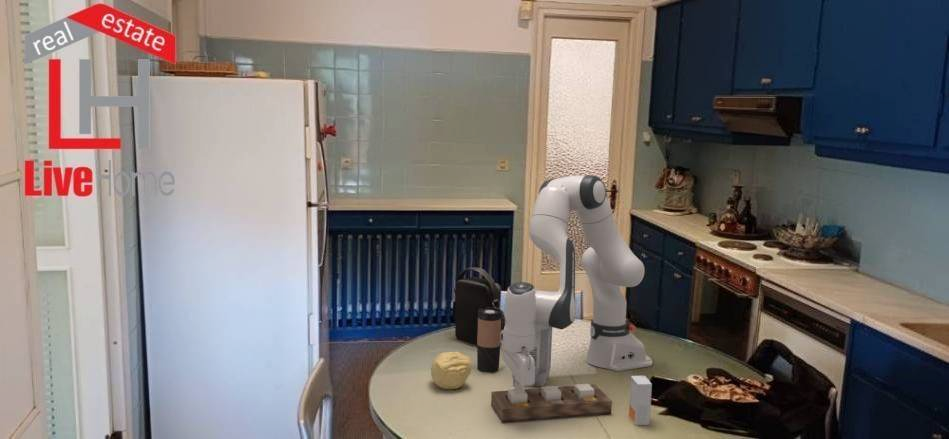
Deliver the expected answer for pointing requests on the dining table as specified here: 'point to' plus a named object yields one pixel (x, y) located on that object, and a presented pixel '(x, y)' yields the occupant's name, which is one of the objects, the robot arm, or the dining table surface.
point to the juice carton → (542, 353)
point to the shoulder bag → (473, 304)
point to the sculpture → (450, 370)
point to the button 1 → (517, 396)
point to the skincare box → (640, 400)
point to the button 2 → (583, 391)
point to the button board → (550, 405)
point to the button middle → (550, 393)
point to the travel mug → (488, 339)
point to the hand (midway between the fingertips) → (517, 388)
